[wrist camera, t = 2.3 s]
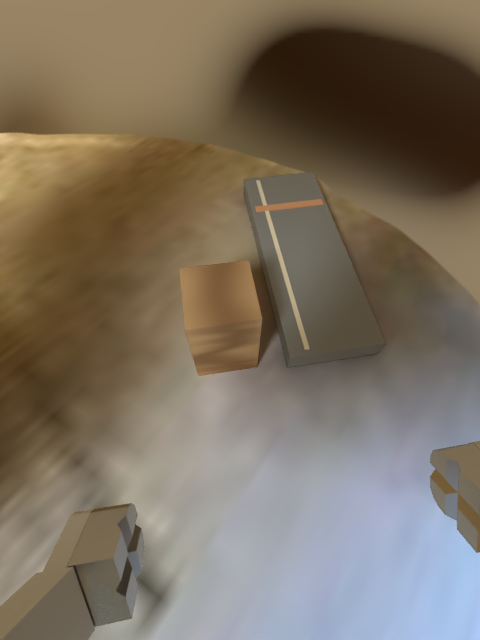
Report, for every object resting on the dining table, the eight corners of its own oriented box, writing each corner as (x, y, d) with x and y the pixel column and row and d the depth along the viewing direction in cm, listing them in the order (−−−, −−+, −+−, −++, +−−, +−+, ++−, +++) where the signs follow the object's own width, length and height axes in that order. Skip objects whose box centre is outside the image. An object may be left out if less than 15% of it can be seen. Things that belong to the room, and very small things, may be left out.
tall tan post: (198, 376, 28) (184, 330, 22) (193, 324, 31) (179, 269, 24) (257, 367, 29) (262, 319, 22) (247, 317, 31) (248, 260, 24)
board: (287, 367, 29) (290, 357, 27) (243, 194, 40) (243, 178, 38) (377, 353, 29) (386, 342, 28) (310, 186, 40) (313, 171, 39)
